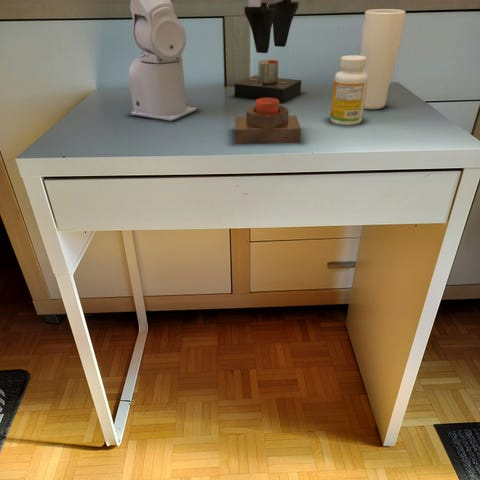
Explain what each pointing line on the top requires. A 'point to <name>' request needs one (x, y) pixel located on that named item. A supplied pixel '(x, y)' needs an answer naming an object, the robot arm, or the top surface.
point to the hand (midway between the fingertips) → (271, 49)
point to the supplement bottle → (349, 91)
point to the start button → (267, 105)
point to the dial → (268, 71)
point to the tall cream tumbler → (380, 52)
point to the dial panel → (268, 89)
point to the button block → (267, 127)
